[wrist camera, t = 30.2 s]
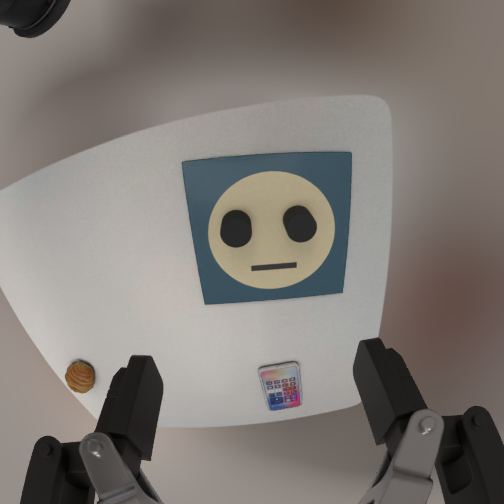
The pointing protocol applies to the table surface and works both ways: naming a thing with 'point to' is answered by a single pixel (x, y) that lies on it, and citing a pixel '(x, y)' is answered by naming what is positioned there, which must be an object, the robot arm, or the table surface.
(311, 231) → the black short cylinder
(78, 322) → the table surface
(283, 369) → the smartphone
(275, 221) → the face board
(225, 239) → the black short cylinder
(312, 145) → the table surface
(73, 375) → the pastry
